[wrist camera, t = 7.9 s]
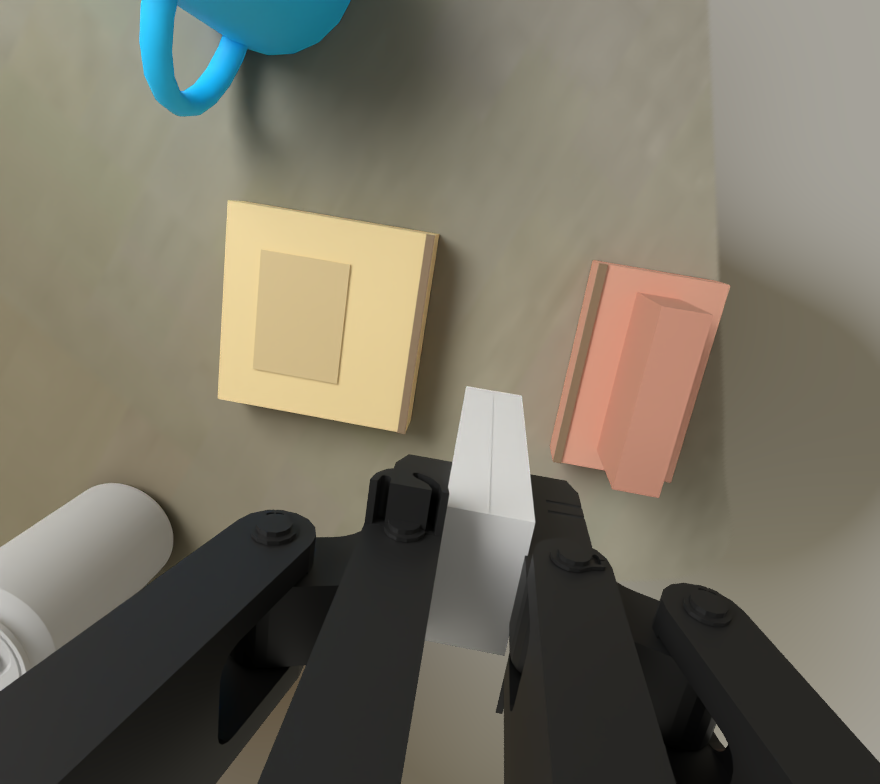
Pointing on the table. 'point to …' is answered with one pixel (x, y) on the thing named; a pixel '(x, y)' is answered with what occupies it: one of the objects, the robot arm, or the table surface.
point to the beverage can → (76, 571)
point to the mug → (228, 41)
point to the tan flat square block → (323, 314)
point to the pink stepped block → (636, 373)
